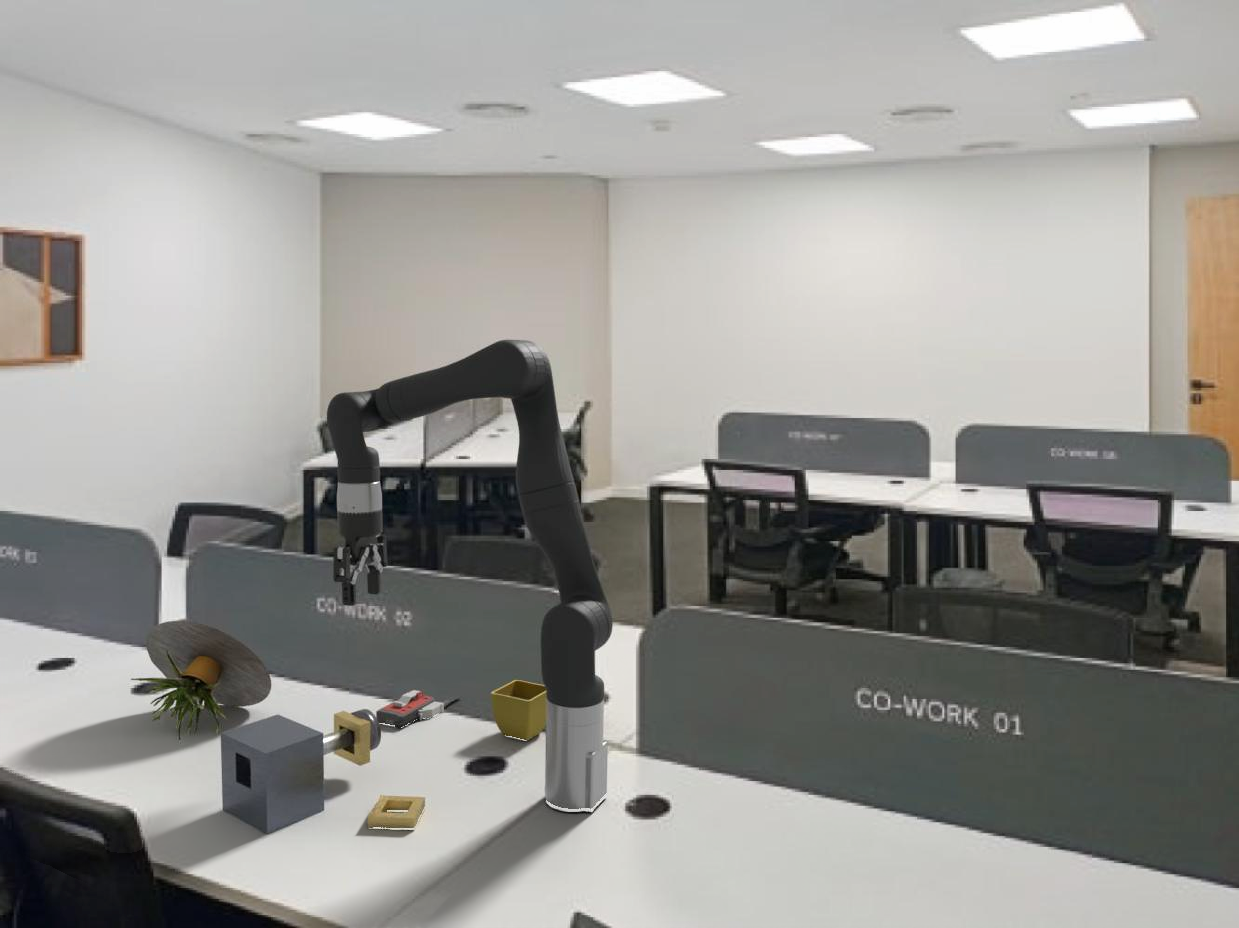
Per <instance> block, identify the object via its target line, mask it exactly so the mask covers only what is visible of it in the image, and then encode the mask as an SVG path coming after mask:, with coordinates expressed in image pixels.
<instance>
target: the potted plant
mask: <svg viewBox="0 0 1239 928" xmlns="http://www.w3.org/2000/svg"><path fill="white" fill-rule="evenodd" d="M145 646H146V651H147V654H148V657H149V659H150V661H151V662H152V664H153V665H154V666H155V667H156V668H157V669H158V670H159V671H160V672H161V673H162V674H163V676H164V677H144V678H143V677H139V678H138V677H137V678H131V679H130V681H138V682H139V681H140V682H143V681H145V682H146V681H147V682H151V683H156V684H158V685H155V686H153V687H152V689H153V690H152V689H151V691H149V692H148V695H149V694H153V693H156V692H158V691H161V690H169V689H174V690H171V691H169V692H167V693H165V694H162V695H160V696H159V697H156V698H155V699H154V700H152V701H151V702H150V705H152V706H153V707H155V706H157V705H158V704H159V703H161V701H163V703H162V704H161V706H160V707H159V708H158V709H156V710H152V712H151V715H154V714H156V713H157V712H158V711H159V712H158V713H157V715H156V716H154V717H153V719H152V722H155V721H156V720H159V721H160V720H161V715H162V714H163V713H166V712H167V711H168V710H169V709H170V711H171V713H170V716H169V719H172V720H175V719H176V721H175V722H174V724H175V729H176V730H177V733H178V734H177V735H178V736H177V737H178V741H179V740H180V741H181V727H182V724H183V720H184V718H185V716H186V715H187V714H188V712H189V722H188V725H187V727H186V730H185V733H187V732H188V735H189V734H190V733H191V730H192V724H193V718H194V715H195V724H194V729H193V733H192V734H195V733H196V731H197V729H198V724H199V718H200V714H201V713H202V710H203V709H204V710H206V713H209V714H212V716H213V718H214V720H215V723H216V725H217V727H216V732H215V733H216V734H217V733H219V730H220V722H219V719H218V715H217V712H218V714H219V715H220V716H222V717H223V718H224V719H225V720H228V718H227V717H226V715H224V713H223V711H222V709H221V708H220V707H221V706H220V705H222V706H228V707H236V708H237V707H239V708H243V707H244V708H245V707H250V706H254V705H256V704H259V703H261V702H263V701H264V700H266V699H267V697H268V696H269V695H270V694H271V690H272V679H271V675H270V674H269V671H268V670H267V668H266V666H265V664H264V663H263V662H262V661H261V659H260V658H259V657H258V656H257V654H255V653H254V652H253V650H251V649H250V648H249V647H248V646H247V645H246V644H244V643H243V642H241V641H239V640H238V639H237V638H235V637H233V636H231V635H230V634H228V633H226V632H223V631H221V630H220V629H216V628H215V627H211V626H208V625H205V624H203V623H202V624H201V623H199V622H198V623H197V622H192V621H185V620H169V621H164V622H161V623H158V624H156V625H154V626H153V627H151V629H150V630H149V631H148V633H147V635H146V638H145ZM153 703H154V704H153ZM174 703H175V704H174ZM173 705H174V706H173ZM172 706H173V707H172ZM162 708H163V709H162ZM161 709H162V710H161ZM201 709H202V710H201ZM160 710H161V711H160Z"/></svg>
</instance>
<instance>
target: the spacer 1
mask: <svg viewBox="0 0 1239 928" xmlns="http://www.w3.org/2000/svg"><path fill="white" fill-rule="evenodd" d="M343 728H347V729H350V730H352V731H354V732H355V747H354V746H352V745H350V746H347V747H345V748H342V749H339V750H337V751H334V752H333V754H334V755H336V756H338V757H339V758H343V759H344V760H347V761H348V762H351V763H353V764H355V765H358V766H359V767H362V766H364V765H366V764H369V763H371V751H370V722H369V721H367V720H365V719H362V718H360V717H357V716H355V715H353V714H351V713H350V712H348V711H346V710H342V711H339V712H336V713H334V714H333V732H335V731H338V730H341V729H343Z"/></svg>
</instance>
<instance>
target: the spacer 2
mask: <svg viewBox="0 0 1239 928" xmlns="http://www.w3.org/2000/svg"><path fill="white" fill-rule="evenodd" d="M424 807H425V808H426V797H425V796H407V795H405V796H404V795H403V796H402V795H400V796H399V795H380V796H379V798H378V799H377V801H376V803H375V804H374V805H373V807H372V809H371V811H370V812H369V814H368V816H367V828H368V827H369V828H373V827H381V828H382V827H383V828H385V827H386V828H414V827H415V826H416V824H417V822H418V819H419V817H420V815H421V814H422V811H423V809H424ZM387 810H408V812H407V813H392V812H387ZM422 815H423V814H422ZM418 823H419V822H418ZM417 825H418V824H417ZM416 827H417V826H416Z"/></svg>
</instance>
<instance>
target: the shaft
mask: <svg viewBox="0 0 1239 928" xmlns="http://www.w3.org/2000/svg"><path fill="white" fill-rule="evenodd" d="M350 714H353V715H355V716H357V717H360V718H362V719H365V720H367V721H369V722H370V752H371V751H373V750H375V749H377V748H378V747H379V745H380V743H381V739H382V731H381V730H382V729H381V725H380V724H379V722H378V720H377V718H376V715H375V714H374V713H373V712H372V711H371V710H369V709H367V708H361V709H359V710H356V711H354V712H351V713H350ZM350 745H352V746H354V747H355V732H354V731H352V730H350V729H347V728H343V729H341V730H338V731H335V732H334V731H332V732H330V733H327V734H323V749H324V756H326V755H329V754H332V753H334V751H337V750H339V749H342V748H345V747H347V746H350Z"/></svg>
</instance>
